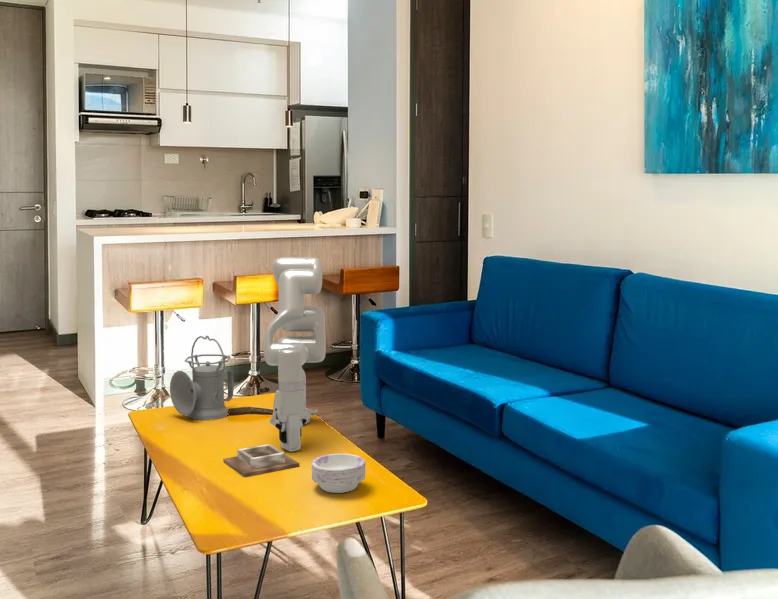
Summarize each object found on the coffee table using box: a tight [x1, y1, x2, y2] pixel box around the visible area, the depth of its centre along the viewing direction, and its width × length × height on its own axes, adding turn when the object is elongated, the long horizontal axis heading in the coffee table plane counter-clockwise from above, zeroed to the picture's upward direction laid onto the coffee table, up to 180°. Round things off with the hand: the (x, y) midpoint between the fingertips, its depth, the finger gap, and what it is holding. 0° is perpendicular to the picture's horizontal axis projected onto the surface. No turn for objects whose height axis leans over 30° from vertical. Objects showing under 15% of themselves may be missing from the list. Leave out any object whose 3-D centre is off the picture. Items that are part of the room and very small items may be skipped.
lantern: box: [169, 335, 235, 421], centre depth 302 cm, size 21×22×30 cm
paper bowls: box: [311, 453, 367, 494], centre depth 229 cm, size 15×15×8 cm
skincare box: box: [280, 414, 302, 453], centre depth 263 cm, size 6×4×12 cm
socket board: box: [222, 443, 300, 478], centre depth 249 cm, size 18×16×4 cm
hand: (290, 440), depth 263 cm, fingers closed on skincare box, 4 cm apart
